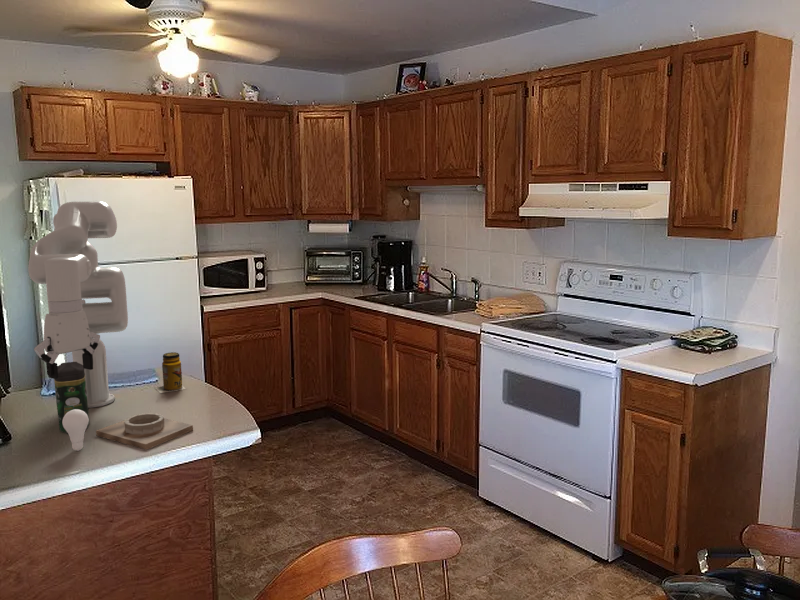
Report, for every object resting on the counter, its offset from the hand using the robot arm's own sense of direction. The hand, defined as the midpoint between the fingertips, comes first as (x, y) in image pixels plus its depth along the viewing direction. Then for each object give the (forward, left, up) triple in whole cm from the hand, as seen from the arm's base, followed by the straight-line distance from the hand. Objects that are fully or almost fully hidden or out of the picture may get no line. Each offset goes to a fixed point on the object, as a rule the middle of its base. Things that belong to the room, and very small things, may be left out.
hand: (71, 373), depth 170 cm
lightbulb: (0, 0, -21) cm, 21 cm away
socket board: (+5, +17, -21) cm, 27 cm away
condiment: (-21, +49, -21) cm, 58 cm away
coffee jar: (-16, +10, -21) cm, 28 cm away
